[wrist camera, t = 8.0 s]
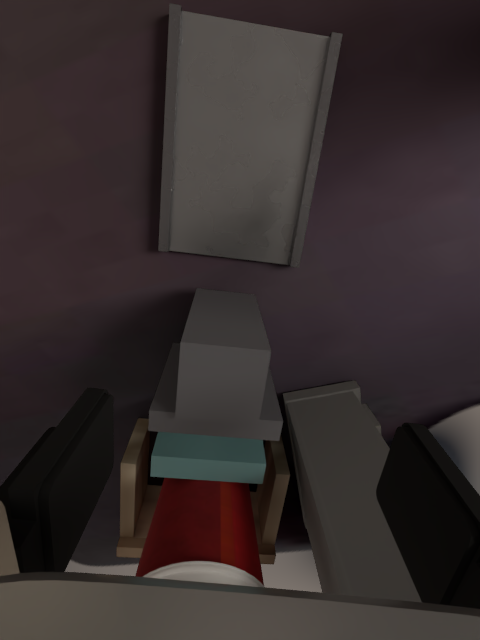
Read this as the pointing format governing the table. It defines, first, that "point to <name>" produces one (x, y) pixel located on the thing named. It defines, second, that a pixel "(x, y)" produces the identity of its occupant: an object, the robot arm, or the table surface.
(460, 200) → the table surface
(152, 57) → the table surface
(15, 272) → the table surface
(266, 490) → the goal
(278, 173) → the track
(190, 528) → the paper cup
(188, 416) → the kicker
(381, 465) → the cassette tape recorder
